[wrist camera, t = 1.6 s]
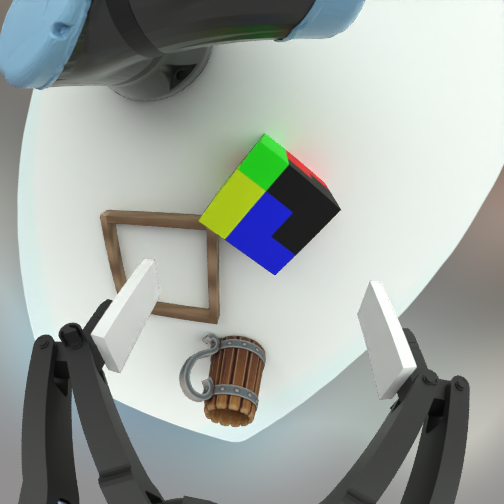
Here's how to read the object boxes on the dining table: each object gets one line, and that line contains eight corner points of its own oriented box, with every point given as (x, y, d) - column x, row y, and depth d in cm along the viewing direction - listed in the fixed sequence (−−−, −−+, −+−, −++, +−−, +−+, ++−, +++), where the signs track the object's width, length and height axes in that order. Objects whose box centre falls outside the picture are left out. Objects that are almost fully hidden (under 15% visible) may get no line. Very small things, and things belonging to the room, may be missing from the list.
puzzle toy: (275, 235, 38) (274, 275, 29) (218, 191, 36) (198, 220, 27) (324, 183, 34) (341, 209, 25) (264, 133, 31) (260, 141, 23)
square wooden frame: (107, 210, 38) (99, 215, 36) (218, 216, 37) (215, 222, 35) (126, 301, 47) (121, 308, 45) (219, 315, 46) (217, 324, 45)
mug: (277, 354, 50) (274, 421, 37) (240, 372, 55) (231, 433, 42) (217, 309, 46) (197, 380, 33) (182, 334, 50) (159, 397, 37)
